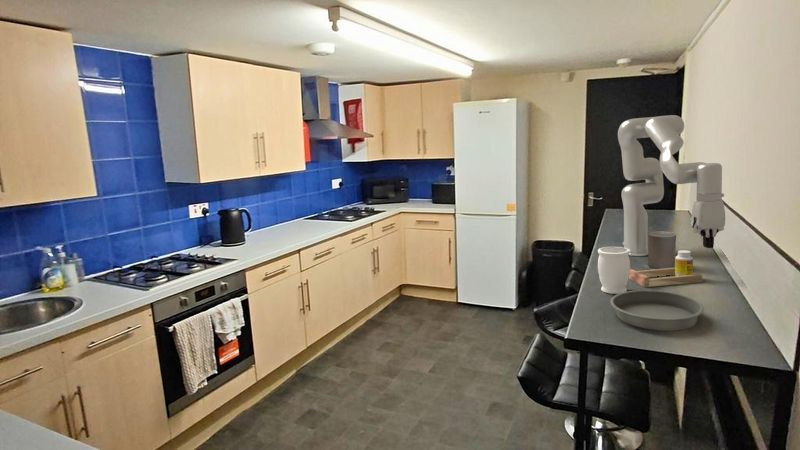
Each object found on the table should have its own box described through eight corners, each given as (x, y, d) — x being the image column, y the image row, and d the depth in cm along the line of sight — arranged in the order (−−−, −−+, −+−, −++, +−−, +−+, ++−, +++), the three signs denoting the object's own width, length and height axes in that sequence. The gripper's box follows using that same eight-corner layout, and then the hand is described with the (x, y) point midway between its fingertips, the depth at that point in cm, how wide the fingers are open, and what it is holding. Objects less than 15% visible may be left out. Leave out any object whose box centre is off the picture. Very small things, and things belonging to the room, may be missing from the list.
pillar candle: (642, 265, 190) (642, 230, 187) (661, 261, 193) (662, 227, 190) (661, 271, 181) (662, 234, 178) (681, 267, 183) (682, 231, 181)
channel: (627, 278, 176) (627, 269, 175) (681, 273, 177) (681, 264, 176) (644, 287, 165) (645, 277, 164) (702, 281, 165) (702, 272, 165)
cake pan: (618, 298, 157) (618, 286, 156) (705, 309, 142) (705, 295, 142) (602, 325, 137) (602, 310, 136) (701, 339, 123) (701, 324, 122)
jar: (605, 284, 171) (604, 245, 169) (634, 288, 164) (634, 248, 161) (593, 292, 164) (592, 251, 162) (623, 297, 157) (623, 254, 154)
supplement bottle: (687, 281, 167) (688, 254, 165) (671, 278, 172) (672, 251, 170) (695, 277, 170) (696, 251, 168) (679, 275, 175) (680, 248, 173)
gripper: (721, 195, 170) (720, 243, 172) (681, 198, 169) (681, 247, 172) (737, 196, 162) (736, 247, 165) (695, 200, 162) (695, 251, 165)
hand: (708, 247), depth 169 cm, fingers closed
